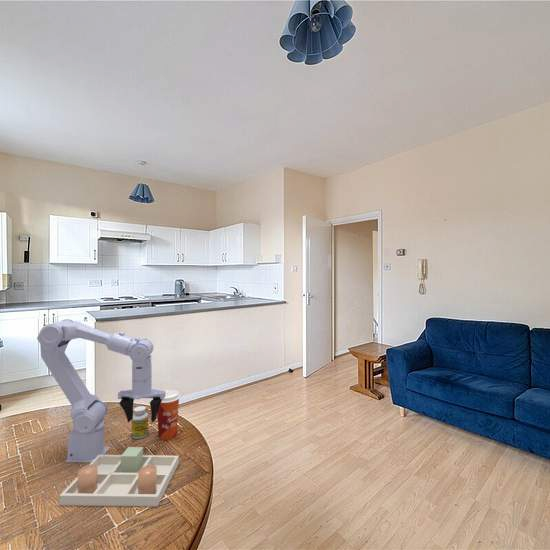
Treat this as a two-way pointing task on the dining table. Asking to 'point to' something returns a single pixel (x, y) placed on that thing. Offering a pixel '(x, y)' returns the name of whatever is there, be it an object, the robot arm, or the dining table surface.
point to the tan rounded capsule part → (147, 480)
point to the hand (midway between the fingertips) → (142, 420)
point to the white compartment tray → (121, 483)
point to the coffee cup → (168, 415)
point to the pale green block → (132, 460)
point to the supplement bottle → (139, 422)
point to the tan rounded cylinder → (88, 479)
